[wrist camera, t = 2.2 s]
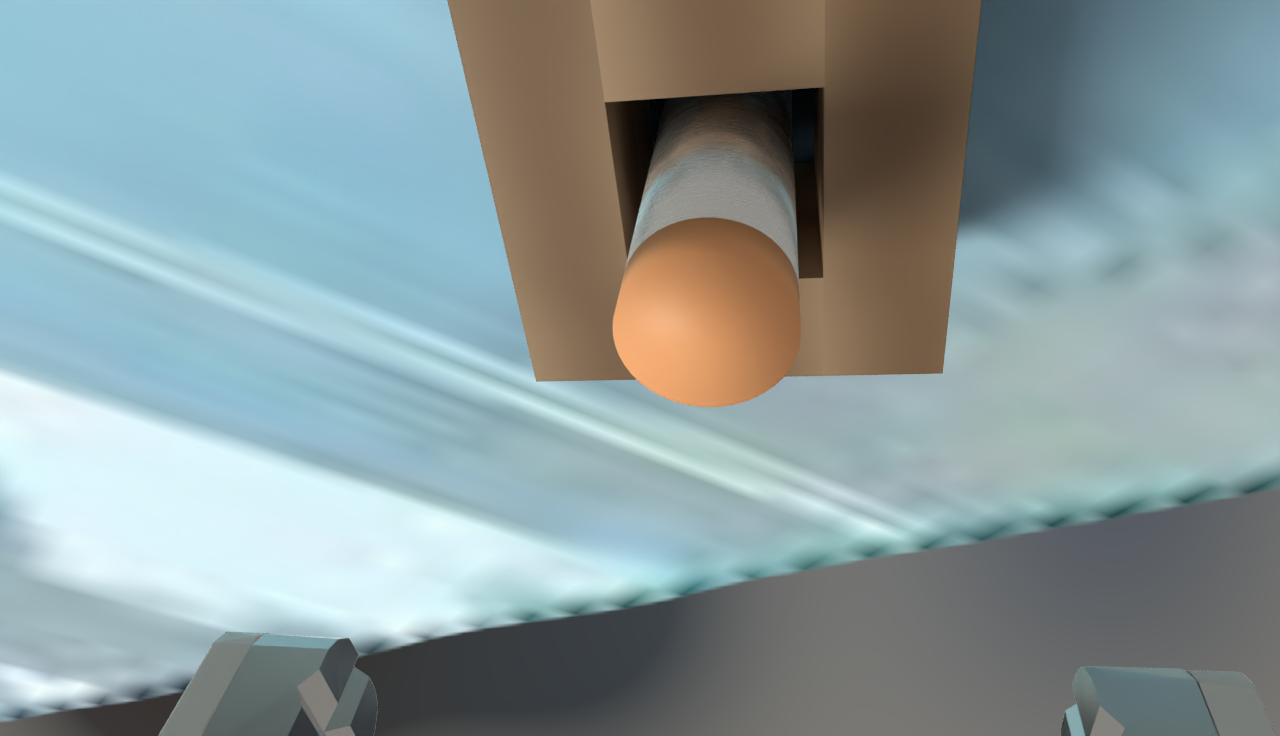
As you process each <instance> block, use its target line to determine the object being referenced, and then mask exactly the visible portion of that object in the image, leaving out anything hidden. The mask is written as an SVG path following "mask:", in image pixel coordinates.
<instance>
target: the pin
mask: <svg viewBox="0 0 1280 736" xmlns="http://www.w3.org/2000/svg"><path fill="white" fill-rule="evenodd" d="M613 338H614V342H615V346H616V349H617V352H618V354H619V357H620V358H621V360H622V362H623V363H624V365H625V367H626V368H627V369H628V370H629V372H630V373H631V374H632V375H633V376H634V377H635V378H636V379H637V380H638V381H639V382H640V383H642V384H643V385H644V386H645V387H647V388H648V389H650V390H651V391H653V392H655V393H656V394H658V395H660V396H662V397H665V398H667V399H669V400H672V401H675V402H678V403H682V404H687V405H692V406H699V407H720V406H728V405H734V404H738V403H741V402H745V401H748V400H750V399H753V398H755V397H757V396H759V395H761V394H763V393H765V392H766V391H768V390H769V389H771V388H772V387H773V386H775V385H776V384H777V383H778V382H779V381H780V380H781V379H782V378H783V377H784V376H785V375H786V373H787V372H788V371H789V369H790V368H791V366H792V364H793V363H794V361H795V358H796V356H797V354H798V350H799V346H800V340H801V319H800V295H799V271H798V247H797V223H796V198H795V174H794V150H793V126H792V102H791V89H790V90H776V91H761V92H747V93H732V94H718V95H704V96H689V97H675V98H666V101H665V105H664V109H663V113H662V117H661V121H660V126H659V130H658V134H657V138H656V142H655V146H654V151H653V155H652V159H651V163H650V167H649V171H648V175H647V180H646V184H645V188H644V192H643V196H642V200H641V205H640V209H639V213H638V217H637V221H636V225H635V229H634V234H633V238H632V242H631V246H630V250H629V254H628V259H627V263H626V267H625V271H624V275H623V279H622V283H621V288H620V292H619V296H618V300H617V304H616V308H615V313H614V317H613Z"/></svg>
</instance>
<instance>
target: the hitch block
mask: <svg viewBox="0 0 1280 736" xmlns="http://www.w3.org/2000/svg"><path fill="white" fill-rule="evenodd" d="M447 1H448V5H449V9H450V14H451V18H452V22H453V27H454V31H455V35H456V40H457V44H458V48H459V52H460V57H461V61H462V65H463V70H464V74H465V78H466V82H467V87H468V91H469V95H470V100H471V104H472V108H473V112H474V117H475V121H476V125H477V130H478V134H479V138H480V142H481V147H482V151H483V155H484V160H485V164H486V168H487V172H488V177H489V181H490V185H491V190H492V194H493V198H494V202H495V207H496V211H497V215H498V220H499V224H500V228H501V232H502V237H503V241H504V245H505V250H506V254H507V258H508V262H509V267H510V271H511V275H512V280H513V284H514V288H515V293H516V297H517V301H518V305H519V310H520V314H521V318H522V323H523V327H524V331H525V335H526V340H527V344H528V348H529V353H530V357H531V361H532V365H533V370H534V374H535V378H536V381H585V380H635V379H636V378H635V377H634V376H633V375H632V374H631V373H630V372H629V370H628V369H627V368H626V367H625V365H624V363H623V362H622V360H621V358H620V357H619V354H618V352H617V349H616V346H615V342H614V338H613V317H614V313H615V308H616V304H617V300H618V296H619V292H620V288H621V283H622V279H623V275H624V271H625V267H626V263H627V259H628V254H629V250H630V246H631V242H632V238H633V234H634V229H635V225H636V221H637V217H638V213H639V209H640V205H641V200H642V196H643V192H644V188H645V184H646V180H647V175H648V171H649V167H650V163H651V159H652V155H653V151H654V144H653V135H652V126H651V117H650V109H649V100H648V99H661V98H675V97H689V96H704V95H718V94H732V93H747V92H761V91H776V90H790V89H804V88H814V162H807V163H794V174H795V198H796V223H797V247H798V271H799V295H800V319H801V340H800V346H799V350H798V354H797V356H796V358H795V361H794V363H793V364H792V366H791V368H790V369H789V371H788V372H787V373H786V375H785V376H835V375H885V374H935V373H943V364H944V354H945V345H946V335H947V326H948V316H949V306H950V297H951V287H952V278H953V268H954V259H955V249H956V240H957V230H958V221H959V211H960V202H961V192H962V182H963V173H964V163H965V154H966V144H967V135H968V125H969V116H970V106H971V97H972V87H973V77H974V68H975V58H976V49H977V39H978V30H979V20H980V11H981V1H982V0H447ZM785 376H784V377H785Z"/></svg>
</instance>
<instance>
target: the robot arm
mask: <svg viewBox="0 0 1280 736" xmlns="http://www.w3.org/2000/svg"><path fill="white" fill-rule="evenodd" d="M357 658H358V653H357V651H356V649H355V648H354V646H353V644H352V642H351V641H350V639H349V638H336V637H317V636H297V635H278V634H268V633H243V632H226V633H225V634H223V635H222V636H221V637H220V638H219V639H218V640H216V641H215V642H214V643H213V644H212V646H211V647H210V649H209V651H208V652H207V654H206V656H205V658H204V659H203V661H202V663H201V664H200V666H199V668H198V669H197V671H196V673H195V674H194V676H193V678H192V680H191V681H190V683H189V685H188V686H187V688H186V690H185V691H184V693H183V695H182V696H181V698H180V700H179V701H178V703H177V705H176V707H175V708H174V710H173V712H172V714H171V715H170V717H169V718H168V720H167V722H166V723H165V725H164V727H163V729H162V730H161V732H160V734H159V735H158V736H373V735H374V732H375V725H376V718H377V710H378V704H377V698H376V691H375V688H374V686H373V684H372V681H371V679H370V678H369V677H368V676H367V675H365V674H364V673H362V672H361V671H359V670H358V669H356V668H355V667H354V665H355V662H356V660H357ZM1072 688H1073V691H1074V695H1075V699H1076V703H1077V704H1075V705H1074V706H1072V707H1070V708H1069V709H1067V710H1066V711H1065V713H1064V718H1063V722H1062V727H1061V736H1277V734H1276V732H1275V730H1274V728H1273V725H1272V723H1271V721H1270V719H1269V717H1268V715H1267V712H1266V710H1265V708H1264V706H1263V704H1262V702H1261V699H1260V697H1259V695H1258V693H1257V691H1256V689H1255V686H1254V684H1253V683H1252V682H1251V681H1250V680H1249V679H1248V678H1247V677H1246V676H1245V675H1244V674H1242V673H1239V672H1229V671H1186V670H1183V669H1172V668H1171V669H1170V668H1130V667H1127V668H1126V667H1088V666H1085V667H1084V666H1082V667H1081V668H1080V669H1079V670H1078V671H1076V675H1075V678H1074V681H1073V685H1072Z"/></svg>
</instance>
